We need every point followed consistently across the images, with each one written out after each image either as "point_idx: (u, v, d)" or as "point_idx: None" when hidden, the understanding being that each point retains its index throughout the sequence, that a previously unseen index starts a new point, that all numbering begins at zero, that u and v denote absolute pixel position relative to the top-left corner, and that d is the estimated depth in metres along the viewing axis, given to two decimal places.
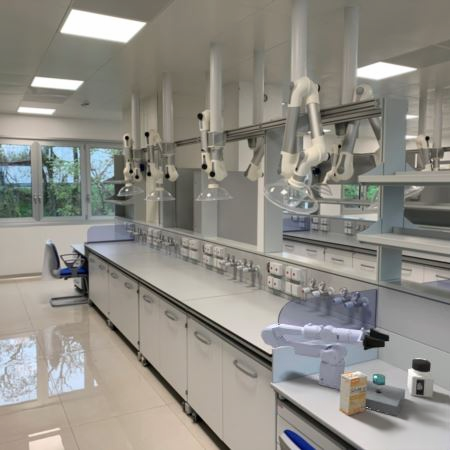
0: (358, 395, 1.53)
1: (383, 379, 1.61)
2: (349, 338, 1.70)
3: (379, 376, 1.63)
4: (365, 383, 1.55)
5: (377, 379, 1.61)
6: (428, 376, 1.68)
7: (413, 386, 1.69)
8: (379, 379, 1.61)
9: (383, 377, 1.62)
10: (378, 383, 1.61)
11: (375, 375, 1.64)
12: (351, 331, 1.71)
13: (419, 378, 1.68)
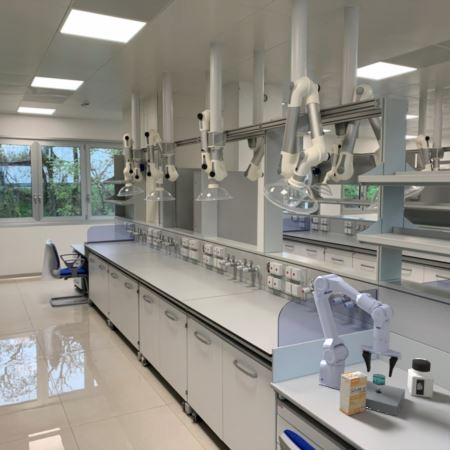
0: (358, 395, 1.53)
1: (383, 379, 1.61)
2: (373, 337, 1.63)
3: (379, 376, 1.63)
4: (365, 383, 1.55)
5: (377, 379, 1.61)
6: (428, 376, 1.68)
7: (413, 386, 1.69)
8: (379, 379, 1.61)
9: (383, 377, 1.62)
10: (378, 383, 1.61)
11: (375, 375, 1.64)
12: (376, 340, 1.61)
13: (419, 378, 1.68)
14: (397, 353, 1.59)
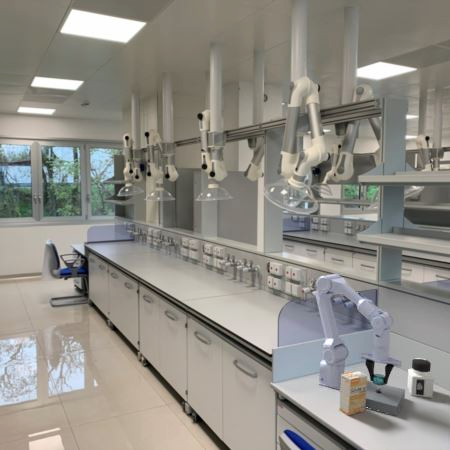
0: (358, 395, 1.53)
1: (383, 379, 1.61)
2: None
3: (379, 376, 1.63)
4: (365, 383, 1.55)
5: (377, 379, 1.61)
6: (428, 376, 1.68)
7: (413, 386, 1.69)
8: (379, 379, 1.61)
9: (383, 377, 1.62)
10: (378, 383, 1.61)
11: (375, 375, 1.64)
12: (375, 348, 1.61)
13: (419, 378, 1.68)
14: (397, 361, 1.59)
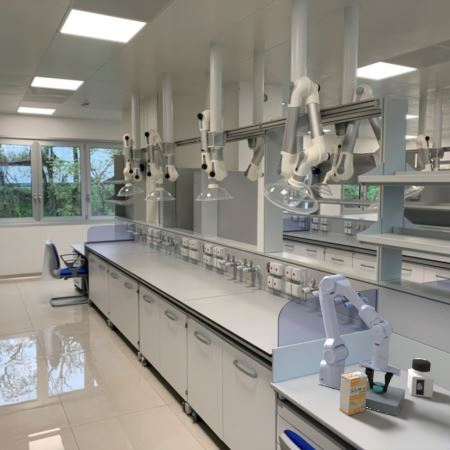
0: (358, 395, 1.53)
1: (383, 387, 1.61)
2: (372, 353, 1.64)
3: (379, 384, 1.63)
4: (365, 383, 1.55)
5: (377, 387, 1.61)
6: (428, 376, 1.68)
7: (413, 386, 1.69)
8: (379, 387, 1.61)
9: (383, 385, 1.62)
10: (378, 391, 1.61)
11: (375, 383, 1.64)
12: (375, 357, 1.61)
13: (419, 378, 1.68)
14: (396, 370, 1.60)
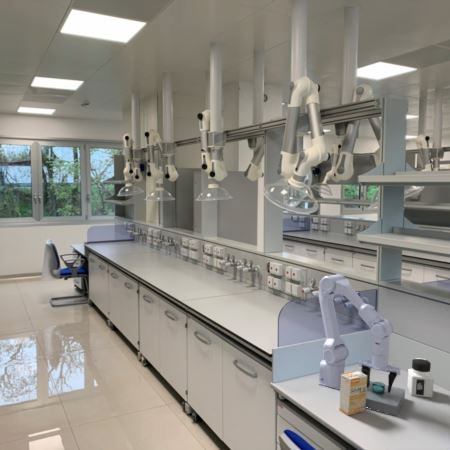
0: (358, 395, 1.53)
1: (383, 387, 1.61)
2: None
3: (379, 384, 1.63)
4: (365, 383, 1.55)
5: (377, 387, 1.61)
6: (428, 376, 1.68)
7: (413, 386, 1.69)
8: (379, 387, 1.61)
9: (383, 385, 1.62)
10: (378, 391, 1.61)
11: (375, 383, 1.64)
12: (375, 356, 1.61)
13: (419, 378, 1.68)
14: (396, 369, 1.60)
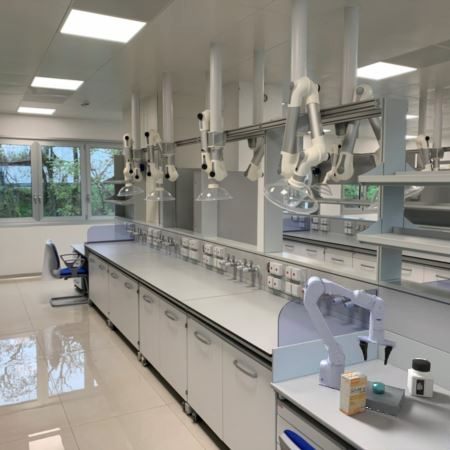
0: (358, 395, 1.53)
1: (383, 387, 1.61)
2: (369, 328, 1.75)
3: (379, 384, 1.63)
4: (365, 383, 1.55)
5: (377, 387, 1.61)
6: (428, 376, 1.68)
7: (413, 386, 1.69)
8: (379, 387, 1.61)
9: (383, 385, 1.62)
10: (378, 391, 1.61)
11: (375, 383, 1.64)
12: (372, 331, 1.72)
13: (419, 378, 1.68)
14: (392, 342, 1.71)
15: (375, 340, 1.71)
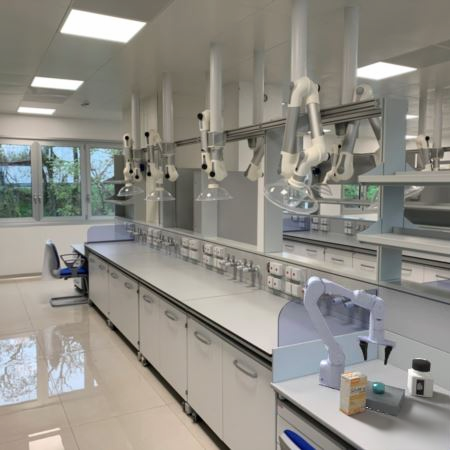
0: (358, 395, 1.53)
1: (383, 387, 1.61)
2: (369, 328, 1.75)
3: (379, 384, 1.63)
4: (365, 383, 1.55)
5: (377, 387, 1.61)
6: (428, 376, 1.68)
7: (413, 386, 1.69)
8: (379, 387, 1.61)
9: (383, 385, 1.62)
10: (378, 391, 1.61)
11: (375, 383, 1.64)
12: (372, 331, 1.72)
13: (419, 378, 1.68)
14: (392, 342, 1.71)
15: (375, 340, 1.71)
